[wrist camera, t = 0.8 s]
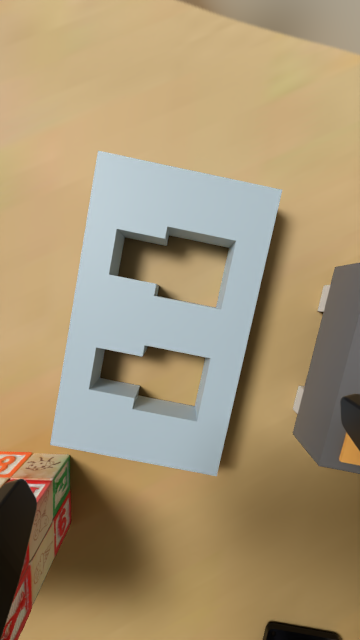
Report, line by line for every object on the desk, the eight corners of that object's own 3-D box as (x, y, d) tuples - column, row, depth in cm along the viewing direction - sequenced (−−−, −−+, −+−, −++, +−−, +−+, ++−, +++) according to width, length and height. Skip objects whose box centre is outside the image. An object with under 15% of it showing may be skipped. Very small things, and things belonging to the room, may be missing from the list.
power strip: (317, 270, 20) (376, 259, 14) (362, 279, 20) (439, 272, 14) (280, 419, 21) (320, 468, 15) (323, 427, 21) (379, 479, 15)
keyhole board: (108, 169, 19) (98, 150, 16) (268, 203, 19) (282, 189, 17) (65, 426, 21) (50, 444, 18) (212, 454, 21) (216, 476, 18)
